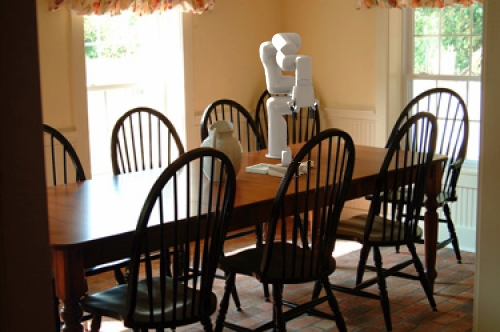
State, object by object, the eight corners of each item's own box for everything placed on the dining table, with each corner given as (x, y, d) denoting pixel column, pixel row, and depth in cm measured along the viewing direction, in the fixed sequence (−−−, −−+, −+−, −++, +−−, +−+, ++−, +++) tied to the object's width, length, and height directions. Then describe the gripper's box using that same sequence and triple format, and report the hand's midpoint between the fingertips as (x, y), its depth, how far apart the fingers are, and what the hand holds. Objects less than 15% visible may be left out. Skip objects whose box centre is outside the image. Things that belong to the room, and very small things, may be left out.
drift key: (309, 166, 360) (309, 160, 359) (313, 167, 358) (313, 161, 358) (295, 170, 350) (295, 164, 350) (300, 171, 349) (300, 165, 348)
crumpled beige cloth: (287, 169, 354) (287, 161, 353) (309, 172, 346) (309, 164, 346) (268, 175, 341) (268, 166, 340) (290, 178, 334) (290, 169, 333)
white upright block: (285, 173, 345) (285, 149, 343) (293, 174, 343) (293, 150, 340) (280, 174, 342) (280, 151, 340) (287, 175, 339) (288, 152, 337)
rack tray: (261, 167, 360) (261, 163, 359) (280, 169, 353) (280, 165, 353) (245, 171, 349) (245, 167, 349) (264, 174, 343) (264, 170, 342)
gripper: (314, 81, 353) (313, 117, 357) (283, 83, 345) (283, 119, 348) (323, 82, 347) (323, 119, 350) (292, 84, 338) (292, 121, 342)
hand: (303, 119), depth 349 cm, fingers open, 9 cm apart
